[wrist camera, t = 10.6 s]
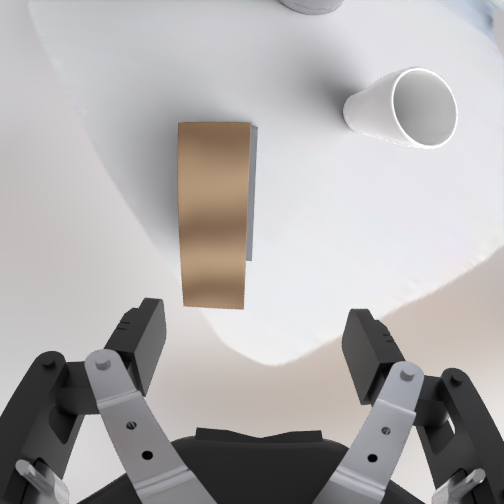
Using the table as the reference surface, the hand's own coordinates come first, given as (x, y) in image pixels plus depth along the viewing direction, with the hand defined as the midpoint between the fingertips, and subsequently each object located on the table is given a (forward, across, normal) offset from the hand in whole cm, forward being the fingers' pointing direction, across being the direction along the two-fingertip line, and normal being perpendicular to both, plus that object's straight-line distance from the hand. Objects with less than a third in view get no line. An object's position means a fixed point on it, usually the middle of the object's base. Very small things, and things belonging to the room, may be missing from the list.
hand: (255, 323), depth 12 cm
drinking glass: (+25, -12, -12) cm, 30 cm away
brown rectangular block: (+18, +3, 0) cm, 18 cm away
